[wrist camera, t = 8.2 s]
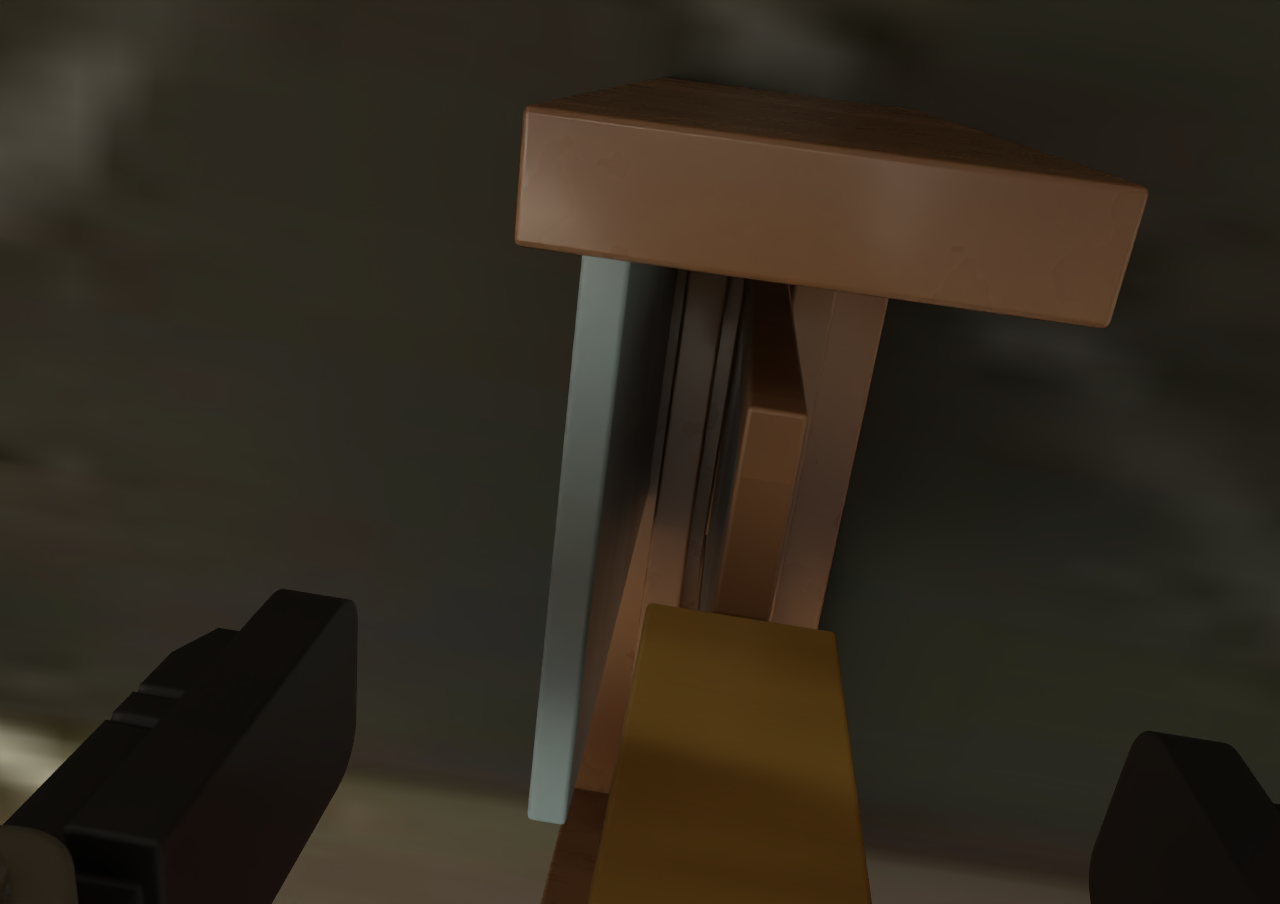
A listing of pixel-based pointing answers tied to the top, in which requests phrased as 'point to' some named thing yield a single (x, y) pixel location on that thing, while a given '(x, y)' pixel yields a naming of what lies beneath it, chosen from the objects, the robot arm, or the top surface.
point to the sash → (738, 686)
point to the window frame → (705, 334)
